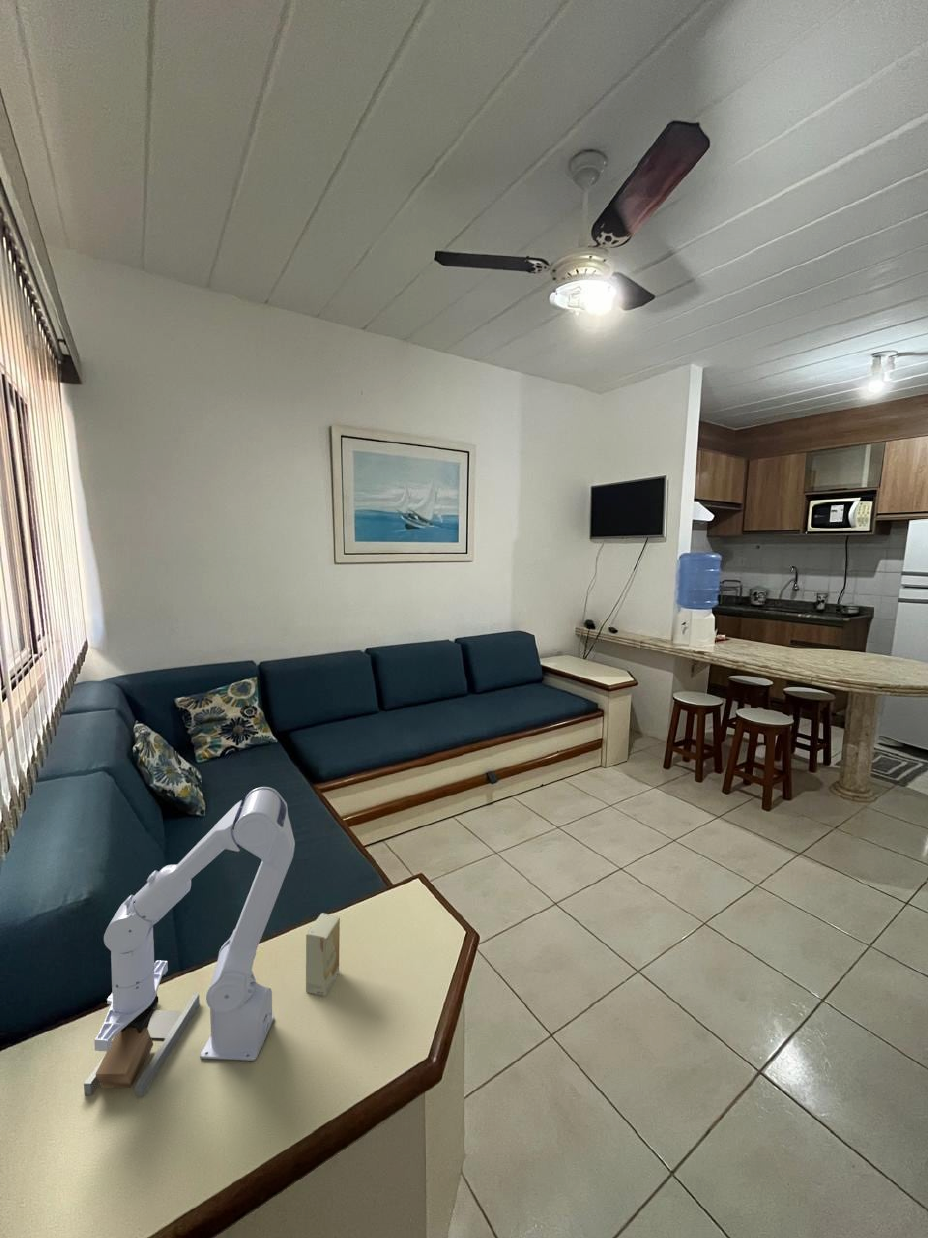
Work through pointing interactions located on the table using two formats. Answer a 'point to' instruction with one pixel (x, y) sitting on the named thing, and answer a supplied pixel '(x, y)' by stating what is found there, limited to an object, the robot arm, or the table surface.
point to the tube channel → (169, 1030)
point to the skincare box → (322, 954)
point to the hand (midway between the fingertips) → (135, 1045)
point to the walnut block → (124, 1059)
